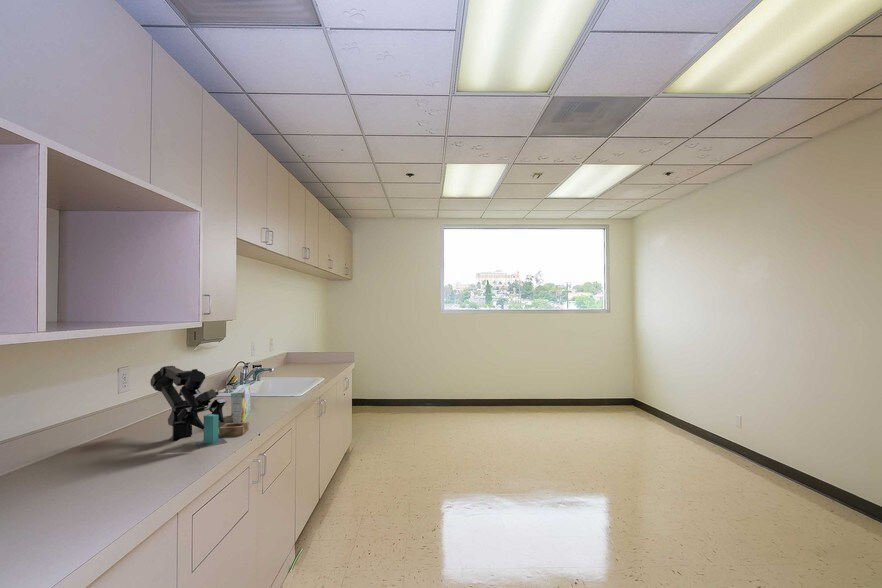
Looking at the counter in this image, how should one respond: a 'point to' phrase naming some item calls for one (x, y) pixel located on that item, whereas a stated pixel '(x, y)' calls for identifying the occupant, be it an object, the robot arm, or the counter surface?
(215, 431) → the teal block
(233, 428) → the slot box
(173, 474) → the counter surface
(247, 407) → the snack box
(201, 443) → the rubber mat
